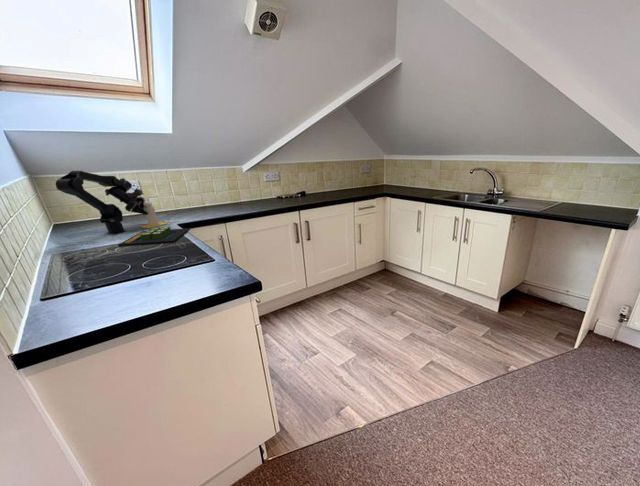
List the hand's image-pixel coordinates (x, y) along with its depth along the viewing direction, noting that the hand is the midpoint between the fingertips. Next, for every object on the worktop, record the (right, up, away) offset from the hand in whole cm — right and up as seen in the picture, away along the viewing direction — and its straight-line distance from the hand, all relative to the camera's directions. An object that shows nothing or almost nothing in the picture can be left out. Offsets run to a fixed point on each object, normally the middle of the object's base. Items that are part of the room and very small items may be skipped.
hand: (150, 212), depth 181 cm
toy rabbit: (0, -7, +3) cm, 8 cm away
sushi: (+19, -18, -21) cm, 34 cm away
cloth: (0, -7, +3) cm, 8 cm away
